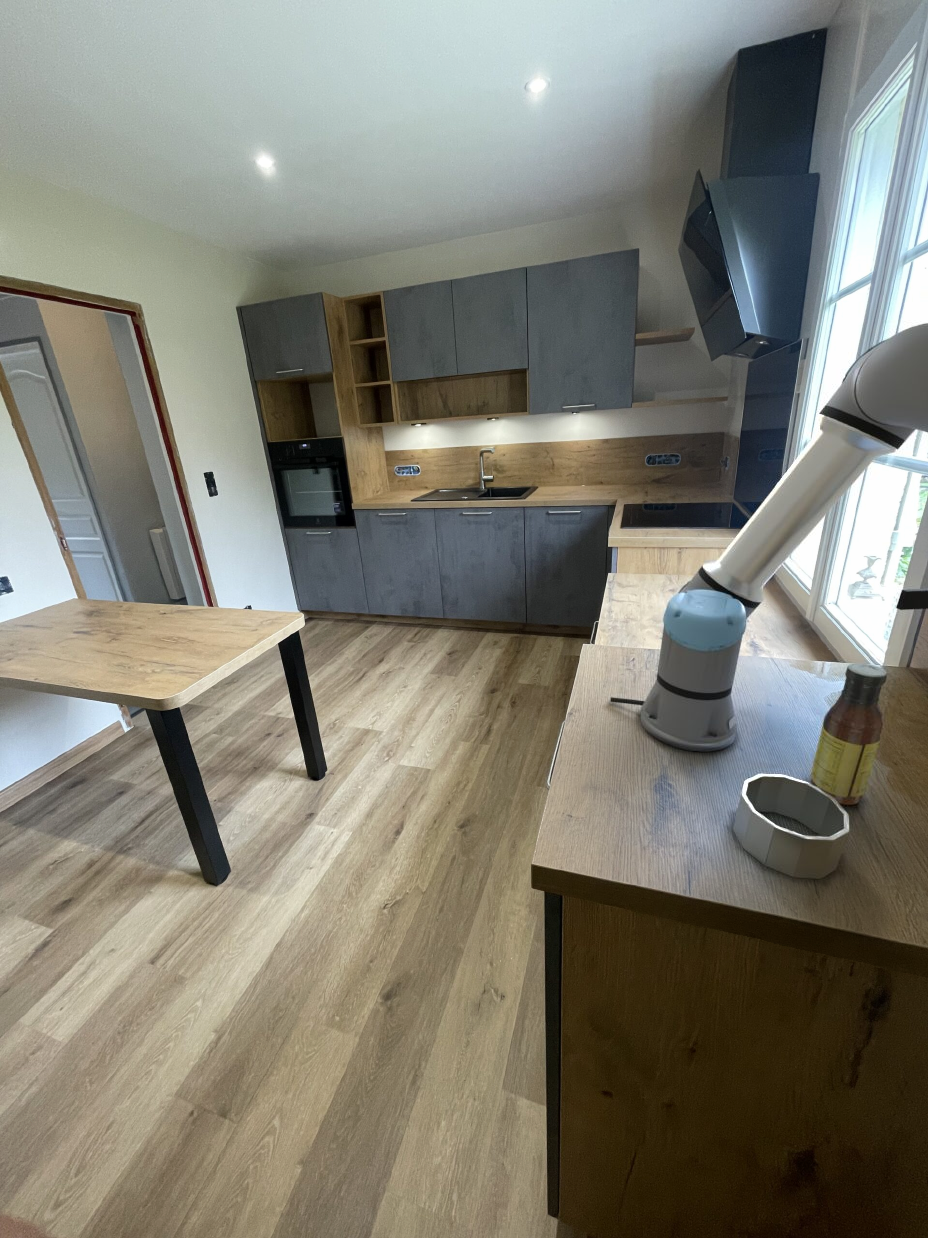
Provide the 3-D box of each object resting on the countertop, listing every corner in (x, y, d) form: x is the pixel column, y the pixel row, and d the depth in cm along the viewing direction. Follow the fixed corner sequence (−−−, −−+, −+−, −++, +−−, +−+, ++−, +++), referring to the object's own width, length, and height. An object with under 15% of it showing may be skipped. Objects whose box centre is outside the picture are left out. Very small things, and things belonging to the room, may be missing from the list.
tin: (727, 850, 61) (736, 813, 58) (740, 798, 69) (748, 763, 67) (836, 895, 55) (850, 855, 52) (836, 831, 63) (848, 795, 61)
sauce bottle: (847, 780, 71) (887, 659, 64) (870, 811, 66) (916, 682, 58) (798, 774, 73) (831, 656, 66) (816, 804, 67) (854, 678, 60)
